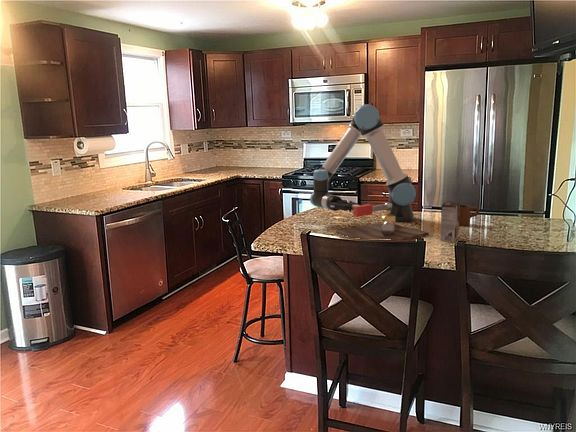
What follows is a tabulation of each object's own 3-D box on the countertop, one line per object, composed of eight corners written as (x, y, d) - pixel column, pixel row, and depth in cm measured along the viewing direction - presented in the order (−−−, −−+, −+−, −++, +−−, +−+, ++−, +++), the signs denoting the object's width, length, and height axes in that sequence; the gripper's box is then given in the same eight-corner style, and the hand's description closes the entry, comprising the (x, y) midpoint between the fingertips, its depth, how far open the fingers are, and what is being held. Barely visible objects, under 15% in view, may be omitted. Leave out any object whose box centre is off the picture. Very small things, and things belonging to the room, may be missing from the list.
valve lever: (388, 210, 221) (388, 200, 220) (393, 211, 218) (393, 201, 217) (352, 215, 211) (352, 206, 210) (357, 217, 208) (357, 207, 207)
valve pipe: (381, 225, 233) (382, 205, 230) (395, 225, 231) (395, 205, 229) (380, 236, 211) (381, 214, 209) (395, 237, 209) (395, 214, 207)
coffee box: (444, 236, 213) (445, 201, 209) (458, 237, 209) (460, 202, 206) (439, 240, 205) (440, 204, 202) (454, 242, 202) (456, 205, 198)
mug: (476, 222, 236) (477, 204, 234) (480, 226, 229) (481, 207, 227) (452, 223, 238) (452, 204, 236) (455, 226, 230) (456, 207, 228)
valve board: (383, 224, 239) (383, 221, 239) (428, 235, 214) (428, 232, 214) (335, 233, 223) (335, 230, 223) (379, 246, 198) (379, 243, 198)
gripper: (343, 208, 237) (374, 215, 217) (321, 211, 230) (351, 219, 210) (343, 193, 235) (374, 200, 216) (320, 196, 229) (351, 203, 209)
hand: (362, 209), depth 213 cm, fingers closed
